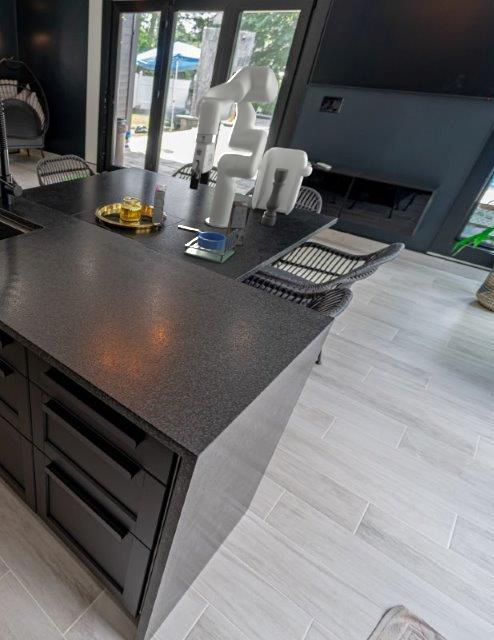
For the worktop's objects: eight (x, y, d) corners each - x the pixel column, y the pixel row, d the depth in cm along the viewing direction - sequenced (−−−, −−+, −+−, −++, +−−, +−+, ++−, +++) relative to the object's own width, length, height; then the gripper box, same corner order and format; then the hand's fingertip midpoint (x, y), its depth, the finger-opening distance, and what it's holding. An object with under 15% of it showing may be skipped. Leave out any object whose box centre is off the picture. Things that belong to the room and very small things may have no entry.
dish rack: (198, 243, 173) (202, 219, 167) (234, 252, 166) (239, 227, 160) (183, 253, 164) (187, 228, 158) (221, 263, 156) (227, 237, 150)
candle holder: (274, 222, 199) (289, 169, 184) (273, 226, 194) (289, 171, 180) (261, 220, 201) (275, 167, 186) (260, 224, 196) (274, 170, 182)
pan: (182, 233, 173) (184, 222, 170) (227, 244, 164) (230, 233, 161) (171, 239, 166) (172, 229, 163) (218, 252, 156) (220, 240, 154)
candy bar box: (152, 218, 199) (156, 184, 190) (163, 219, 199) (167, 184, 189) (150, 225, 190) (154, 190, 181) (161, 226, 190) (165, 190, 180)
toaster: (300, 211, 215) (319, 150, 198) (296, 217, 207) (315, 154, 190) (248, 202, 226) (262, 144, 209) (243, 207, 219) (257, 147, 201)
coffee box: (242, 245, 173) (251, 207, 163) (226, 243, 173) (235, 206, 164) (239, 237, 180) (248, 201, 171) (224, 236, 181) (232, 200, 172)
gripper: (206, 143, 141) (198, 193, 151) (224, 136, 152) (215, 183, 162) (186, 140, 144) (180, 189, 154) (205, 134, 156) (198, 180, 166)
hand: (198, 186), depth 158 cm, fingers open, 9 cm apart
